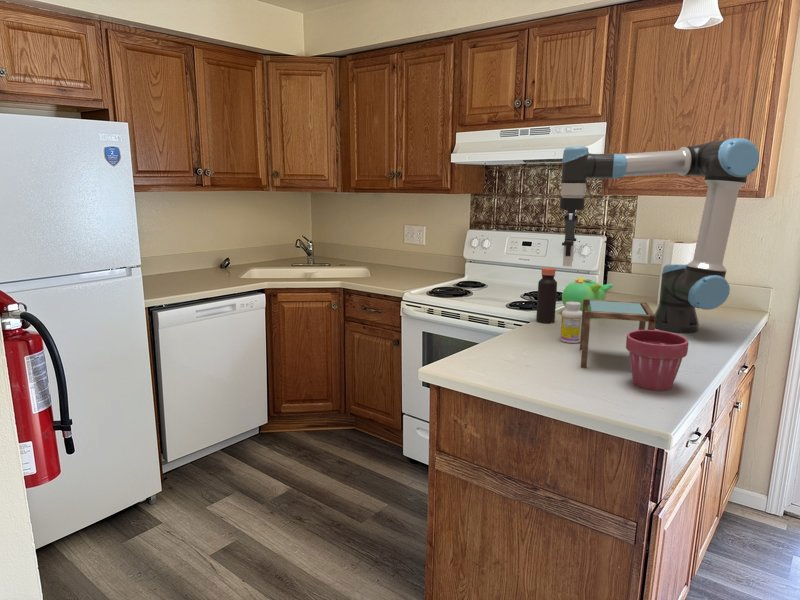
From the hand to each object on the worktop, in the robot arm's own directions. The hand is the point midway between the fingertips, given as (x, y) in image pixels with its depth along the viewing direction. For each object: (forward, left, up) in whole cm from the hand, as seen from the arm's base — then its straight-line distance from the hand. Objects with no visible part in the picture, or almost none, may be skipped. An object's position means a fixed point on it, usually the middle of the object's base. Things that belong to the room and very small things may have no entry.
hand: (568, 263), depth 179 cm
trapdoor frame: (-14, +21, -25) cm, 36 cm away
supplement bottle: (-2, +3, -25) cm, 26 cm away
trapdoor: (-14, +21, -10) cm, 27 cm away
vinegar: (+7, -22, -25) cm, 34 cm away
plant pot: (-22, +39, -25) cm, 52 cm away
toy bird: (-7, -39, -25) cm, 47 cm away
